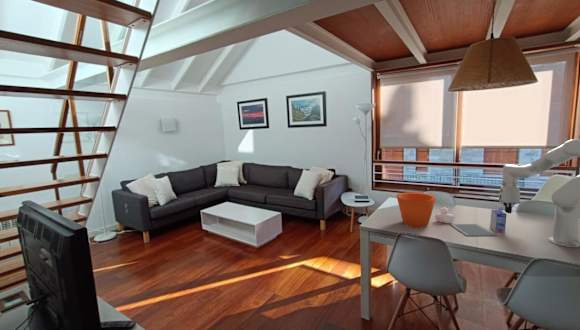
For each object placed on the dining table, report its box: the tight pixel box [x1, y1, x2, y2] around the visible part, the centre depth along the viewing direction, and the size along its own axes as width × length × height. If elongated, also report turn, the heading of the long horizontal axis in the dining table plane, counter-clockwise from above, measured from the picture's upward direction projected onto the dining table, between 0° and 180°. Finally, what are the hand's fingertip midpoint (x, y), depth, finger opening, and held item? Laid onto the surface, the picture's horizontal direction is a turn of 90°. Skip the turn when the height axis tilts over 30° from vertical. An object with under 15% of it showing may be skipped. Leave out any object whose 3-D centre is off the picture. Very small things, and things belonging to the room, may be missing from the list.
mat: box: [449, 223, 498, 237], centre depth 177 cm, size 20×18×1 cm
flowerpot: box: [396, 191, 437, 228], centre depth 192 cm, size 25×25×20 cm
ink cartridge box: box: [489, 207, 508, 234], centre depth 175 cm, size 10×6×14 cm, turn 161°
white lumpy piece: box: [434, 206, 455, 224], centre depth 195 cm, size 12×8×11 cm
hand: (508, 212), depth 174 cm, fingers closed
